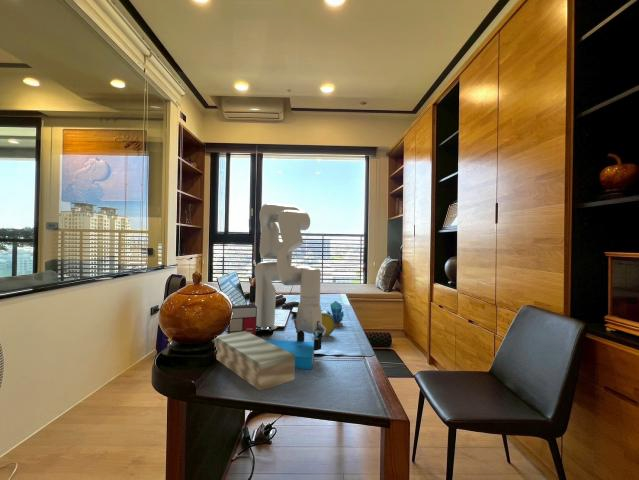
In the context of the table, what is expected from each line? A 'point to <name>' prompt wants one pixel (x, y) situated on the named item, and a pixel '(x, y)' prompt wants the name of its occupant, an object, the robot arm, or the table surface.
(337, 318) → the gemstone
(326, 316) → the decorative artifact
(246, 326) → the gray red box
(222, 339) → the striped cream block
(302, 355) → the book
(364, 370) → the table surface
